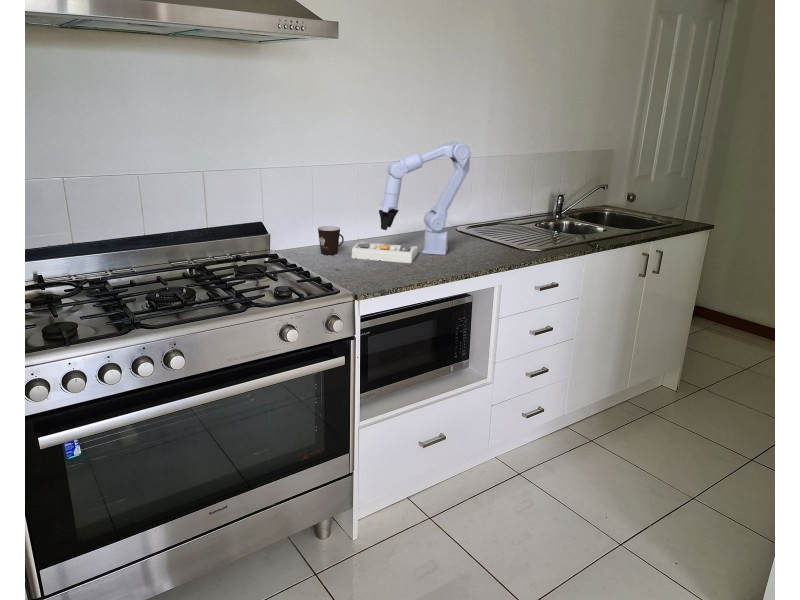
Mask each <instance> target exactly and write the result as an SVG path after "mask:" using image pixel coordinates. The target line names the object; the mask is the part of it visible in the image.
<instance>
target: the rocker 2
mask: <svg viewBox="0 0 800 600" xmlns="http://www.w3.org/2000/svg"><path fill="white" fill-rule="evenodd" d="M400 245H401V247H400V249H399V251H404V252H408V251H409V248H410V246H411V243H401V244H400Z"/></svg>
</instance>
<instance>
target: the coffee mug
mask: <svg viewBox="0 0 800 600" xmlns="http://www.w3.org/2000/svg"><path fill="white" fill-rule="evenodd" d="M340 232H341V227H340V226H334V225H322V226H318V227H317V233H318V240H319V241H318V242H319V249H320V254H321V255H322V254H323V255H322V256H328V255H331V256H336V255H338V251H339V247H341V246H342V244H343V243H344V240H345V239H344V236H343V235H342V234H341V233H340ZM340 237H341V243H340V244H339V242H340ZM335 254H336V255H335Z"/></svg>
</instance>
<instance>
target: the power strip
mask: <svg viewBox="0 0 800 600" xmlns="http://www.w3.org/2000/svg"><path fill="white" fill-rule="evenodd" d="M360 243H364V244H370V247H368V248H360V247H358V244H360ZM378 245H390V248H389V249H388V250H383V249H380V248H378ZM401 245H402V244H392V243H391V244H390V243H376V242H375V243H374V242H365V241H364V242H363V241H361V242H357V243H356V244H355V245H353V247H352V250H351V259H355V258H357V259H356V260H367V259H369V260H368V261H379V260H381V261H383V262H393V263H402V264H403V263H405V264H412V263H413V262H414V259H415V258H416V257H417V255H418V250H419V249H418V246H415V245H410V248H409V251H408V252H404V251H399V249H400V247H401Z"/></svg>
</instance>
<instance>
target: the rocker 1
mask: <svg viewBox="0 0 800 600" xmlns="http://www.w3.org/2000/svg"><path fill="white" fill-rule="evenodd" d="M359 243H360V244H358V247H360V248H368V247H370V244H364V243H361V242H359Z"/></svg>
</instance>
